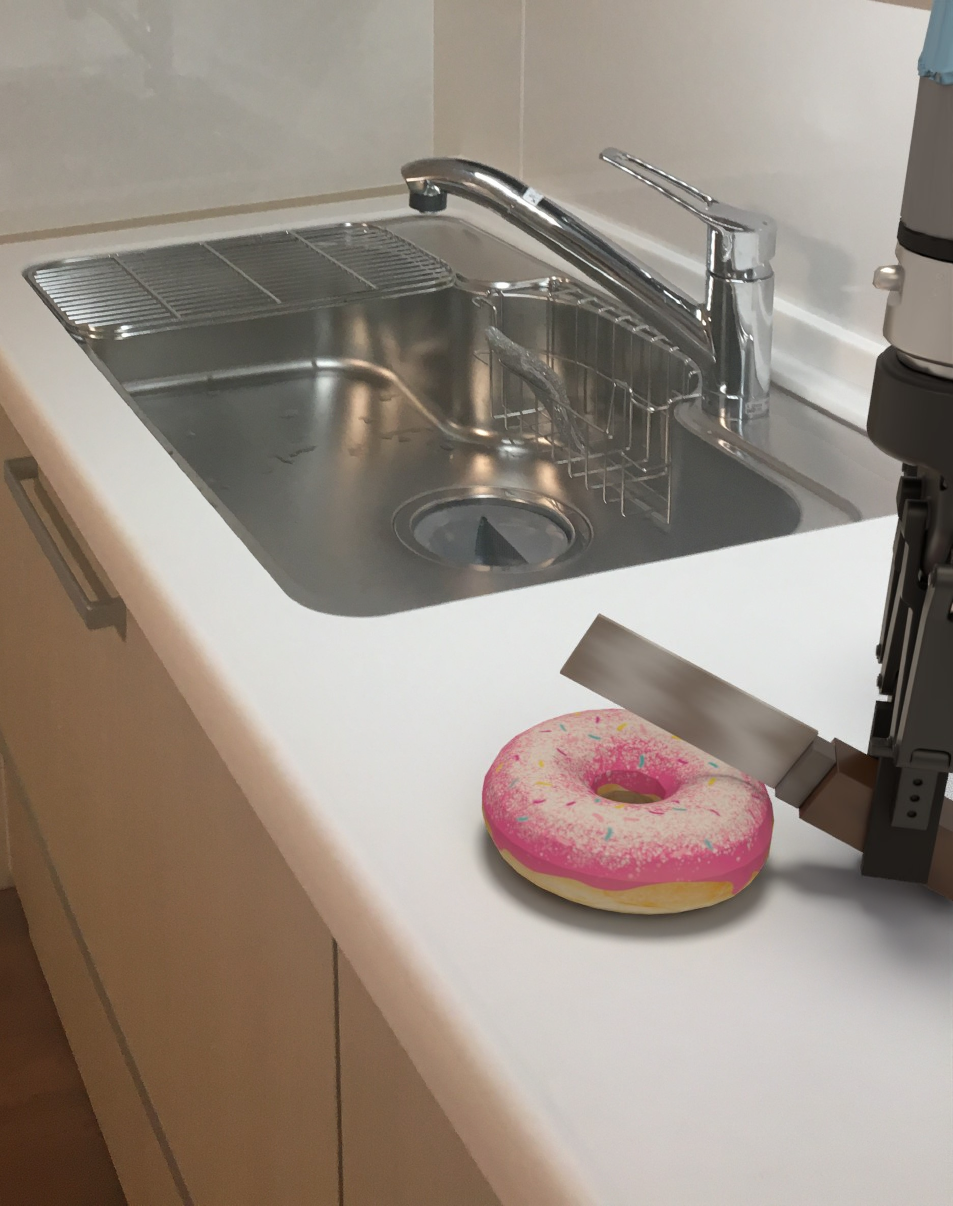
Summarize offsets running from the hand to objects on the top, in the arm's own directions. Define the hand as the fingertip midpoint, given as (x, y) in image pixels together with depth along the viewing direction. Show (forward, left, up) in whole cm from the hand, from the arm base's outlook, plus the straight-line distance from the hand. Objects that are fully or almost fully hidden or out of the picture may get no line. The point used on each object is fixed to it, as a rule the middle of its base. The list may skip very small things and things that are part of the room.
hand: (890, 850), depth 75 cm
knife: (+6, 0, +3) cm, 7 cm away
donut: (+12, 0, -2) cm, 12 cm away
